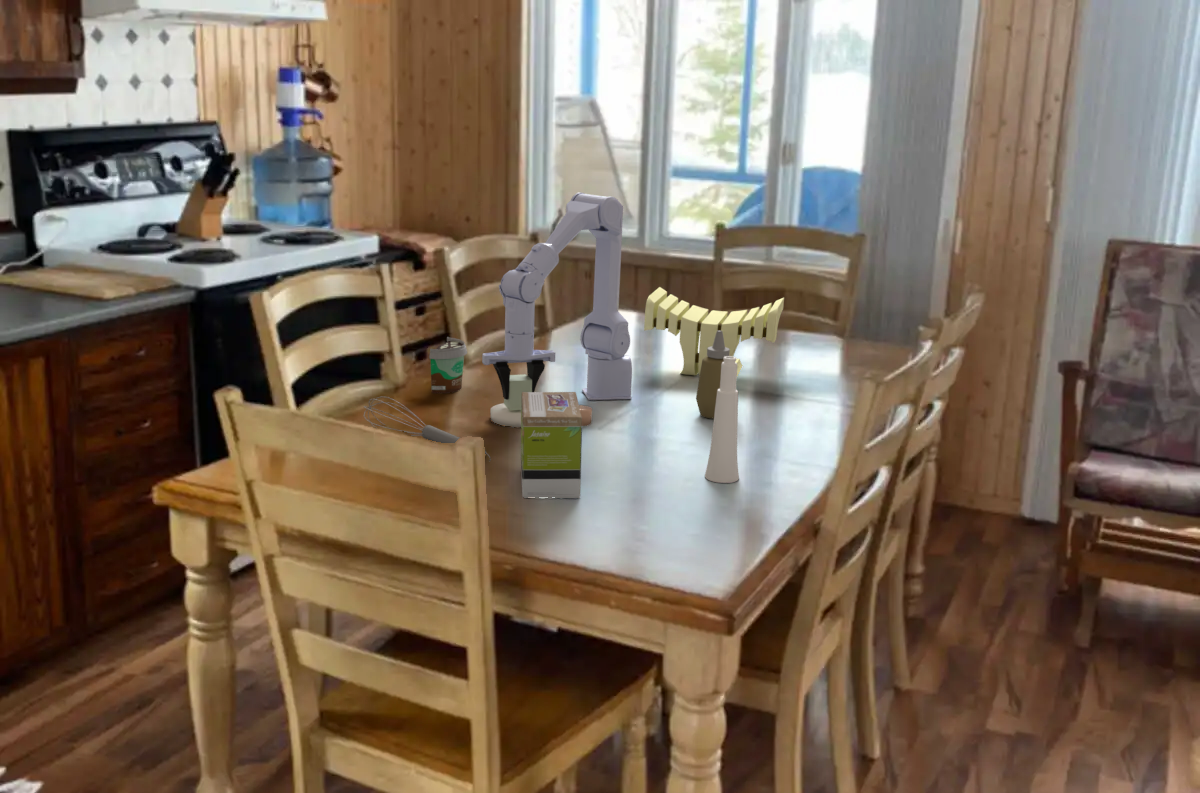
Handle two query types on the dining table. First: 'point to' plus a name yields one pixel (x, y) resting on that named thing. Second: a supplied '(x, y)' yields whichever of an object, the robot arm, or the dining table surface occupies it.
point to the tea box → (551, 445)
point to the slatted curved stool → (708, 326)
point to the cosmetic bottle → (725, 428)
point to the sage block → (517, 390)
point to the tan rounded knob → (586, 415)
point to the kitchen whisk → (427, 431)
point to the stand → (505, 416)
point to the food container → (447, 366)
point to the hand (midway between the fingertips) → (518, 397)
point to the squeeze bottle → (711, 376)
